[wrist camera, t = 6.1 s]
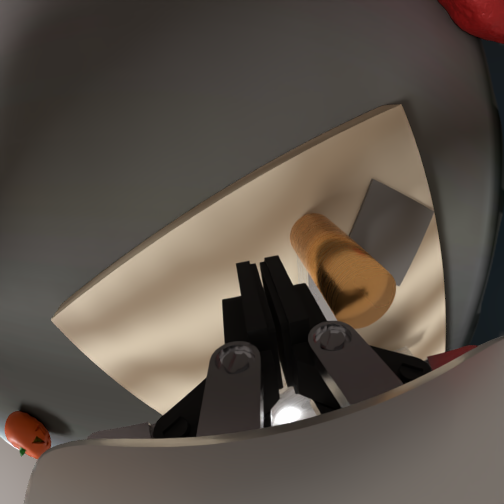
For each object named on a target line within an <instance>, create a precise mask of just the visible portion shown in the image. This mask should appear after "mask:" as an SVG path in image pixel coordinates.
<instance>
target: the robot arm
mask: <svg viewBox="0 0 504 504" xmlns="http://www.w3.org/2000/svg"><path fill="white" fill-rule="evenodd" d="M236 268H237V274H238V281H239V287H240V293H241V296H237V297H232V298H227V299H222V312H223V327H224V342H225V344H224V345H222V346H220V347H219V348H218V349H216V350H215V351H214V353H213V354H212V356H211V358H210V361H209V367H208V372H207V377H206V378H205V379H204V380H203V381H202V382H201V383H200V384H199V385H197V386H196V387H195V388H194V389H193V390H192V391H191V392H190V393H188V394H187V395H186V396H185V397H184V398H183V399H182V400H180V401H179V402H178V403H177V404H176V405H175V406H173V407H172V408H171V409H170V410H169V411H168V412H166V413H165V414H164V415H163V416H162V417H161V418H160V419H159V420H158V421H157V422H156V424H151V425H150V424H149V423H148V422H146V423H141V424H136V425H131V426H126V427H121V428H115V429H109V430H103V431H97V432H94V433H92V434H91V435H90V436H88V438H87V439H85V440H77V441H71V442H68V443H64V444H60V445H57V446H54V447H52V448H50V449H48V450H46V451H45V452H44V453H43V454H41V456H40V457H39V458H38V460H37V462H36V464H35V466H34V468H33V471H32V473H31V476H30V479H29V483H28V487H27V491H26V495H25V500H24V504H504V336H502V337H499V338H496V339H493V340H491V341H488V342H486V343H484V344H482V345H480V346H475V345H470V346H465V347H462V348H459V349H455V350H451V351H448V352H444V353H440V354H436V355H432V356H428V357H426V360H424V361H423V360H422V359H419V358H417V357H414V356H410V355H405V354H401V353H397V352H394V351H390V350H386V349H382V348H378V347H375V346H371V345H368V343H367V342H366V341H365V340H364V339H363V338H362V337H361V336H360V335H359V334H358V333H357V331H356V330H355V329H354V328H353V327H351V326H350V325H349V324H347V323H344V322H341V321H327V320H326V318H325V316H324V314H323V312H322V311H321V309H320V307H319V305H318V304H317V302H316V300H315V298H314V296H313V295H312V293H311V291H310V289H309V288H308V286H307V284H306V283H301V284H296V285H293V284H292V282H291V280H290V278H289V276H288V274H287V272H286V270H285V268H284V266H283V264H282V262H281V260H280V258H279V256H278V255H276V256H270V257H265V258H264V262H260V270H261V277H262V282H261V279H260V275H259V272H258V269H257V266H256V263H254V264H250V261H245V262H240V263H236ZM262 283H263V285H262ZM280 363H281V366H280ZM281 367H282V370H283V374H284V377H285V381H286V384H287V387H292V386H293V388H294V391H295V394H300V395H302V396H304V397H307V398H309V402H310V405H311V406H312V408H313V410H314V412H315V413H316V415H317V416H314V417H310V418H307V419H303V420H299V421H295V422H290V423H286V424H281V425H277V426H273V420H272V408H273V407H274V405H275V404H276V403H277V402H278V400H279V399H280V394H279V389H283V381H282V374H281Z"/></svg>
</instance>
